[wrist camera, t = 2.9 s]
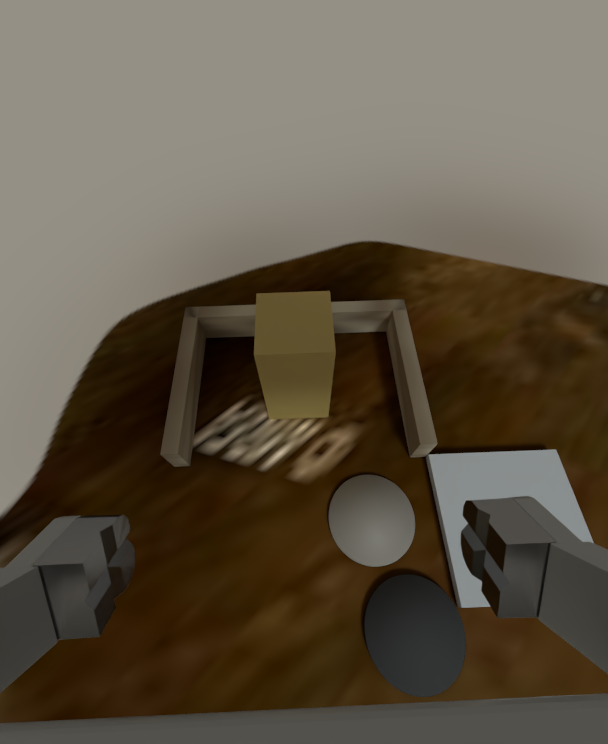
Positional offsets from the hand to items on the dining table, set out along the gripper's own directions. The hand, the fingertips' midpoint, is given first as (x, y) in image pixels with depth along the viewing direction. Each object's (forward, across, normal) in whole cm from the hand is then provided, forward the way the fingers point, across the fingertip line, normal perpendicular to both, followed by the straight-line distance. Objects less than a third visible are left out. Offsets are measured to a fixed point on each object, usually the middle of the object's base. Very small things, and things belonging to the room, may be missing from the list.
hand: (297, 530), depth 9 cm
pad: (+10, -12, +8) cm, 18 cm away
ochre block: (+17, 0, +2) cm, 17 cm away
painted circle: (+11, -4, +8) cm, 14 cm away
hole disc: (+7, -6, +12) cm, 15 cm away
